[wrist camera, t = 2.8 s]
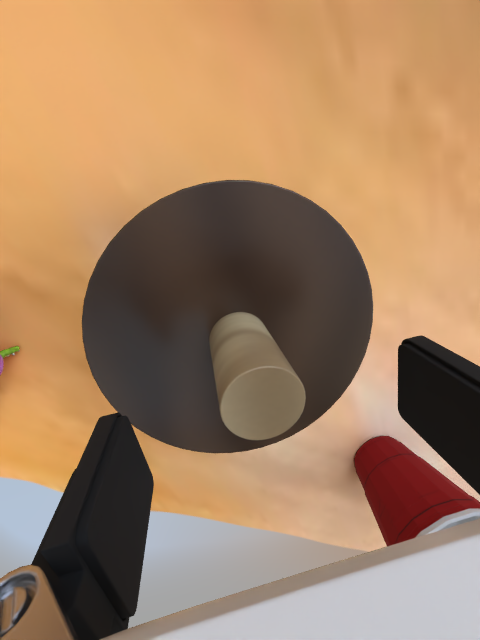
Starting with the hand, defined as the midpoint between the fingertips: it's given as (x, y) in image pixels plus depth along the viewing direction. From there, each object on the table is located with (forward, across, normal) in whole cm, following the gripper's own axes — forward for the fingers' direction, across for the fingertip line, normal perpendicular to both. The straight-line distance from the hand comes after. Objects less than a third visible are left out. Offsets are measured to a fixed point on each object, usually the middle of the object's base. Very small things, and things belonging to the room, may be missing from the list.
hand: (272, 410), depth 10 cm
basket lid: (+6, 0, 0) cm, 6 cm away
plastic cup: (+16, -13, +23) cm, 31 cm away
